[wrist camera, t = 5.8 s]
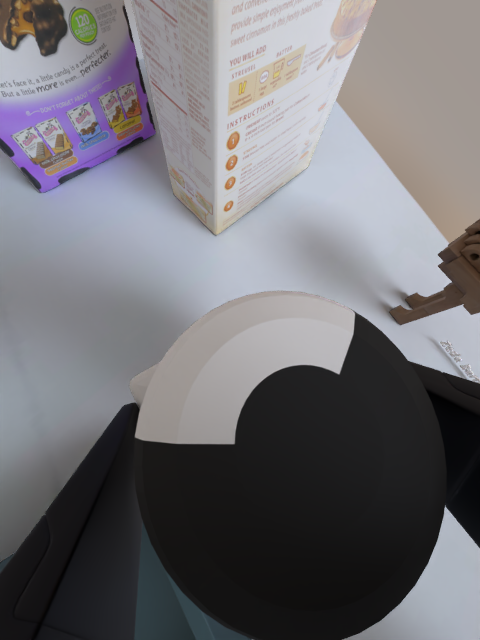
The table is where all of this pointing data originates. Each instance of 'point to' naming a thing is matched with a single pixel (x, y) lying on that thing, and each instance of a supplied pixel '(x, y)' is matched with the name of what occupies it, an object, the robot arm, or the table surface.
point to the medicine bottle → (289, 467)
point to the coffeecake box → (243, 92)
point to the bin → (167, 605)
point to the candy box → (68, 87)
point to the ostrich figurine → (451, 285)
